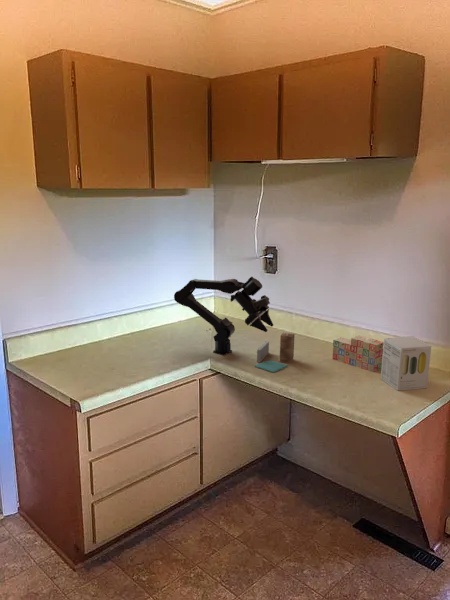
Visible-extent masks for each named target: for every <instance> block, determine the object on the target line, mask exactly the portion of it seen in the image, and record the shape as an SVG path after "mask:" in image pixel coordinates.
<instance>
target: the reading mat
mask: <svg viewBox="0 0 450 600" xmlns="http://www.w3.org/2000/svg"><path fill="white" fill-rule="evenodd" d="M254 368H257V369H260V370H263V371H267V372H269V371H270V373H274V374H275V373H277V372H278V371H280V370H283V369H286V368H288V364H284V363H282V362H277V361H275V360H274V361H273V360H271V359H267V360H266V361H261V362H259V363H257V364H255V365H254Z"/></svg>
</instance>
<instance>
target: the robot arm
mask: <svg viewBox="0 0 450 600" xmlns="http://www.w3.org/2000/svg"><path fill="white" fill-rule="evenodd" d="M262 288H263V283H261V282H260V280H259V279H256V278H255V277H253V276H250V277H249V278H248V279H247V280H246V282H242V281H238V279H236V278H230V279H224V280H214V279H213V280H211V279H197V278H193V279H190V280H189V281H188V283H187V284H186V285H184V286H183V287H182V288H181V289H179V290H177V291H176V292H174V295H173V299H174V301H175V302H176V303H177V304H179V305H182V307H183V306H184V307H186V308H189V309H191V310H192V311H193V312H194V313H196V314H197V315H198V316H200V318H202V319H203V320H204V321H206V322H207V323H209V324H210V325H211V326H212V327H213V329H214V331H215V332H216V334H215V335H214V336H213V339H214V342H215V343H214V346H215V347H214V350H212V352H213V353H216V354H219V355H224V356H225V355H227V354H229V353H232V352H233V350H232V349H231V345H232V344H231V343H232V342H231V339H230V338H231V337H232V335H233V334H234V333H235V331H236V327H235V325H234V324H233V322H232V321H230V320H229V319H228V318H227V317H224V318H220V317H219V316H217V315H216V314H215V313H213V312H212V311H211V310H209V309H208V308H207V307H206V306H204V305H203V304H202V303H201V302H199V301H198V300H197V299H196V298H195V296H194V294H193V293H194V292H195V290H211V291H212V290H213V291H216V290H217V291H219V292H221V293H225V294H228V295H230V302H231V303H232V302H233V301H236V302H237V304H239V305H240V306H241V310H242V311H243V312H244V311H245V313H247V314H248V316H247V317H246V318H245V319H244V323H245V325H247V326H250V327H253V328H255V329H258V330H260V331H262V332H265V333H267V332H268V329H267V327H266V326H265V324H266V325H268V326H270V327H272V328H273V326H274V323H273V321H272V319H271V317H270V315H269V312H270V307H269V304H271V303H270V298H269V297H268V296H266V295H265V294H264V295H262V296H260V299H257V300H256V299H255V298H252V297H254V296H255V295H256V294H257V293H258V292H259V291H260V290H261V289H262ZM251 296H252V297H251ZM263 322H264V323H265V324H264V323H263Z"/></svg>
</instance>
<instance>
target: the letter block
mask: <svg viewBox="0 0 450 600" xmlns="http://www.w3.org/2000/svg"><path fill="white" fill-rule="evenodd" d="M295 335H296V334H295V333H290V332H282V333H281V335H280V342H279V343H280V345H279V363H286V364H287V363H288V364H292V362H293V361H294V358H295V357H294V355H295V354H294V351H295Z"/></svg>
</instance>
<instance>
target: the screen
mask: <svg viewBox="0 0 450 600" xmlns="http://www.w3.org/2000/svg"><path fill="white" fill-rule="evenodd" d="M269 349H270V341H264V343H262V344H261V346H260V347H258V349H256V350H257V351H256V362H257V363H262V362H263V360H264V359H265V358H266V356H268V354H269V351H270V350H269Z"/></svg>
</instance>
